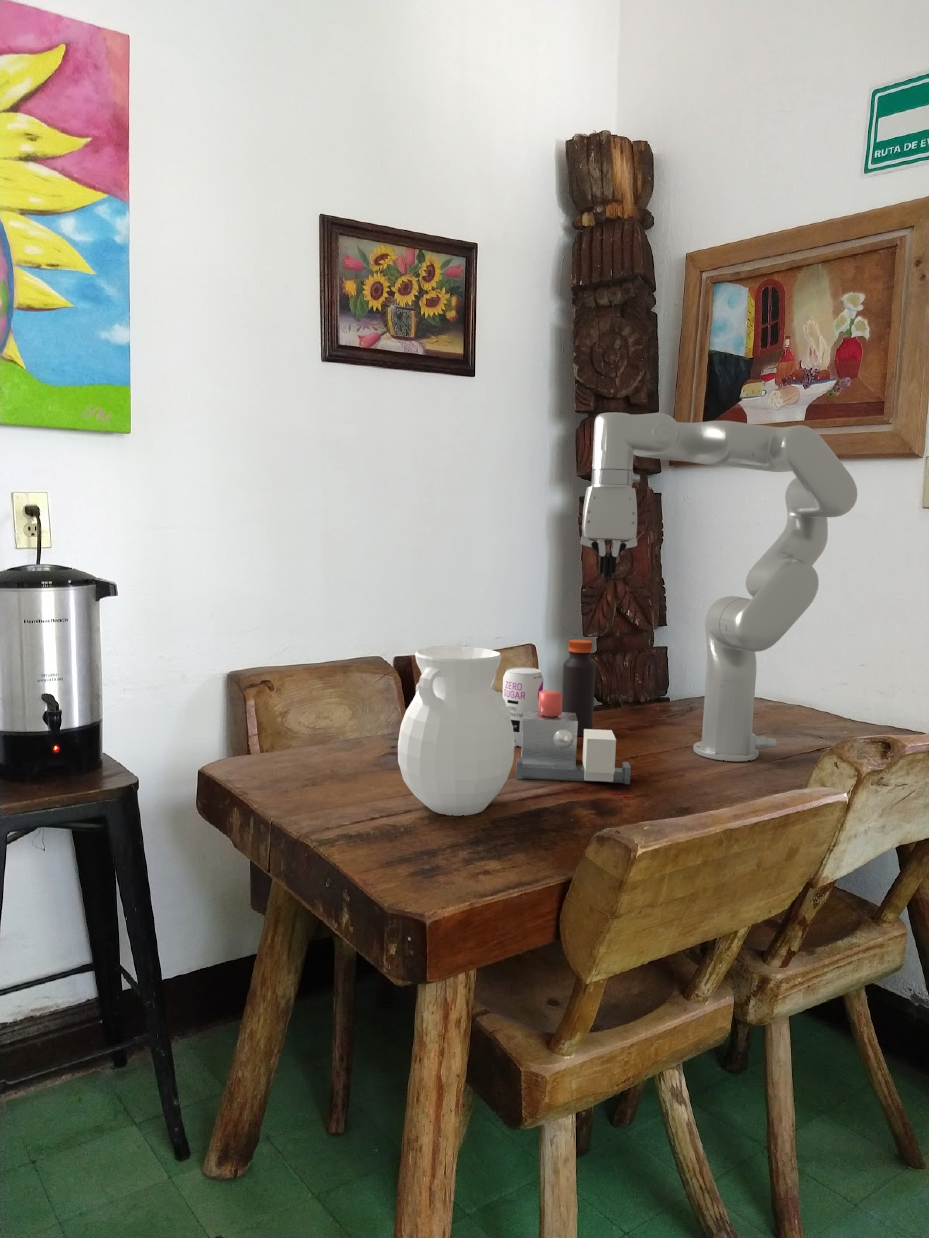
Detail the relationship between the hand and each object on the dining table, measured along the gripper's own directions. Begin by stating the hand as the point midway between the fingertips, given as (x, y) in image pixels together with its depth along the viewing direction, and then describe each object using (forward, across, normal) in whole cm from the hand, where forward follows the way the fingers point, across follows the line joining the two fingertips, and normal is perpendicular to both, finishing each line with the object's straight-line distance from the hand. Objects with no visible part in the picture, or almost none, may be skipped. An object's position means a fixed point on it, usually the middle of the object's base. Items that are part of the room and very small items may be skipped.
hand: (606, 577), depth 176 cm
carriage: (+35, +2, +16) cm, 39 cm away
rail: (+35, +6, +16) cm, 39 cm away
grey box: (+35, +10, +6) cm, 37 cm away
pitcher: (+35, +26, +34) cm, 55 cm away
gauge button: (+29, +10, +6) cm, 31 cm away
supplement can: (+35, +15, -8) cm, 39 cm away
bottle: (+35, +3, -18) cm, 40 cm away
